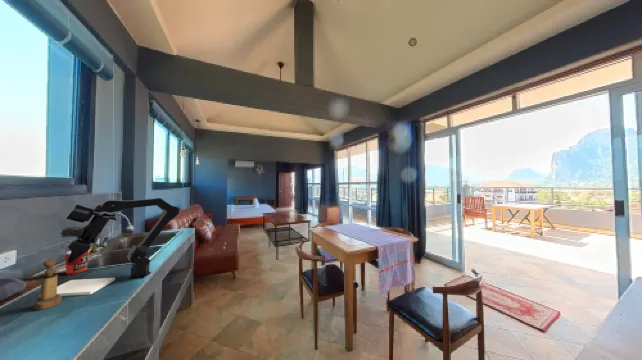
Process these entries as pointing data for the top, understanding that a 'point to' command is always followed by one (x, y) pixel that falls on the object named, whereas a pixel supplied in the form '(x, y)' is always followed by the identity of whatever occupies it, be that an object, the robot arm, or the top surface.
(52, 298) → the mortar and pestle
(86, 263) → the canned food
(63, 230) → the robot arm
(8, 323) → the top surface
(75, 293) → the tile
